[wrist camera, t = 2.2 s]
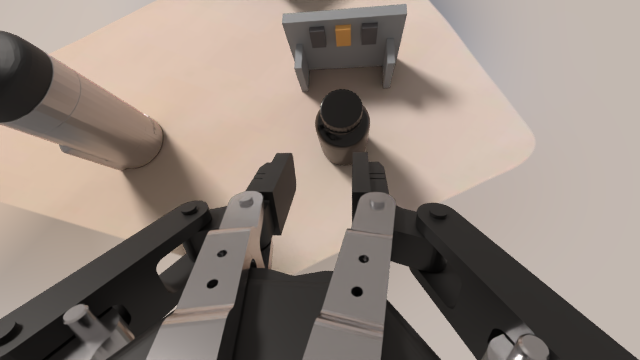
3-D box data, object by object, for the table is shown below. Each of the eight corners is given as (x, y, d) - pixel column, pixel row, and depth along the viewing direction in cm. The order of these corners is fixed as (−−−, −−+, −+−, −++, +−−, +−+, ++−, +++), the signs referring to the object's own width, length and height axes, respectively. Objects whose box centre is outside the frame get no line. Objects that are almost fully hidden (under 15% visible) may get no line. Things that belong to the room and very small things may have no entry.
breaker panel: (396, 87, 42) (408, 41, 33) (296, 91, 44) (280, 49, 35) (394, 57, 44) (406, 4, 34) (297, 62, 46) (282, 13, 36)
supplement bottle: (313, 151, 42) (297, 116, 30) (338, 117, 42) (332, 69, 31) (350, 175, 40) (348, 147, 28) (375, 139, 41) (384, 97, 29)
